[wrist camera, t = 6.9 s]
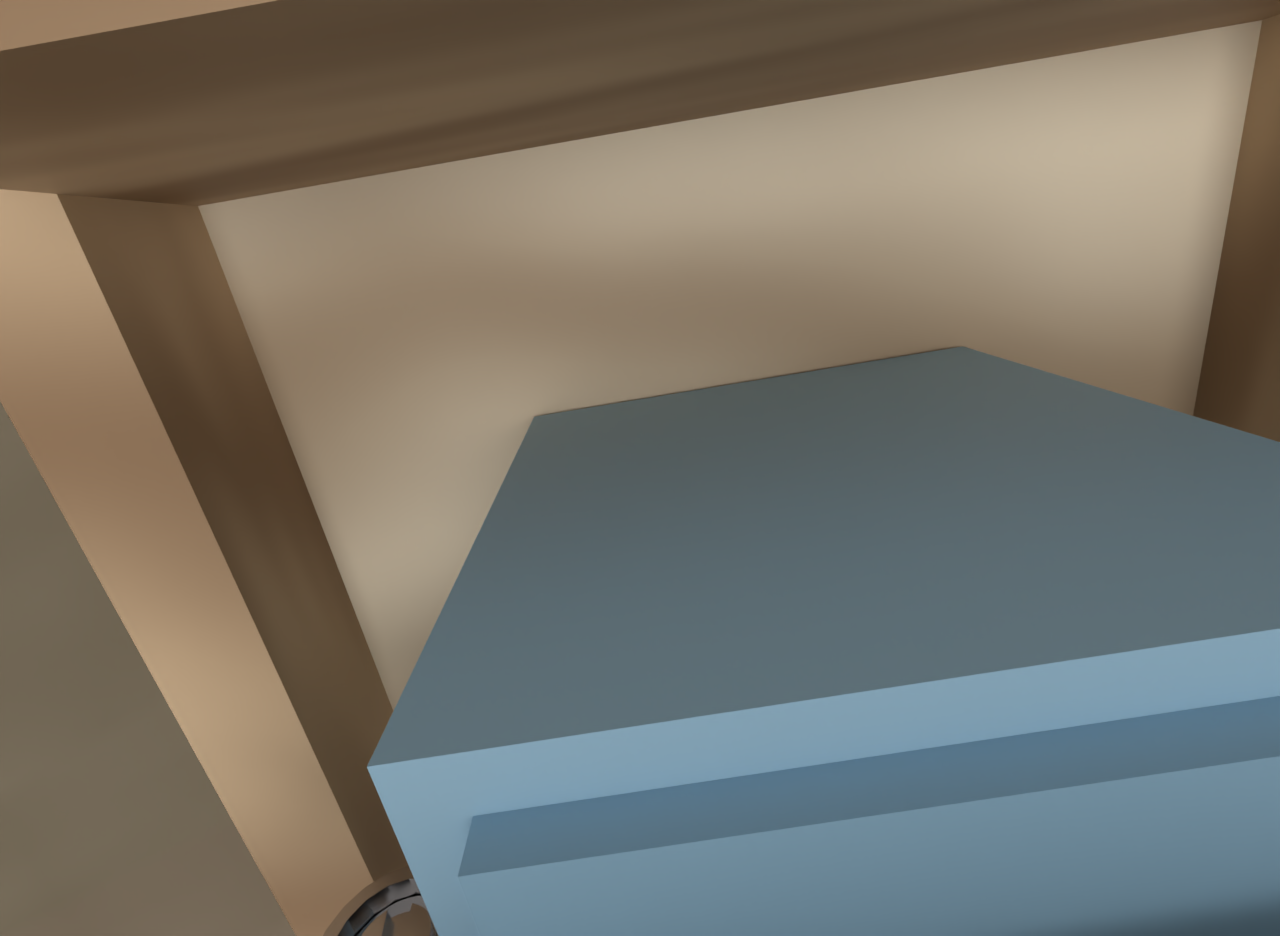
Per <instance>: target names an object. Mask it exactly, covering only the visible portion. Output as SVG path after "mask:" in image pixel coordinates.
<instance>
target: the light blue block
mask: <svg viewBox="0 0 1280 936" xmlns="http://www.w3.org/2000/svg"><path fill="white" fill-rule="evenodd" d="M367 769H368V771H369V773H370V776H371V778H372V780H373V783H374V785H375V787H376V790H377V792H378V794H379V797H380V799H381V802H382V804H383V806H384V809H385V811H386V813H387V816H388V818H389V820H390V823H391V825H392V827H393V830H394V832H395V835H396V837H397V839H398V842H399V844H400V846H401V849H402V851H403V853H404V856H405V858H406V860H407V863H408V865H409V867H410V870H411V872H412V875H413V877H414V879H415V882H416V884H417V886H418V889H419V891H420V893H421V896H422V898H423V900H424V903H425V905H426V908H427V910H428V912H429V915H430V917H431V919H432V922H433V924H434V926H435V929H436V931H437V933H438V936H1280V442H1277V441H1274V440H1271V439H1268V438H1264V437H1261V436H1258V435H1254V434H1251V433H1248V432H1244V431H1241V430H1238V429H1234V428H1231V427H1228V426H1225V425H1221V424H1218V423H1215V422H1211V421H1208V420H1205V419H1201V418H1198V417H1195V416H1191V415H1188V414H1185V413H1182V412H1178V411H1175V410H1172V409H1168V408H1165V407H1162V406H1158V405H1155V404H1152V403H1148V402H1145V401H1142V400H1139V399H1135V398H1132V397H1129V396H1125V395H1122V394H1119V393H1115V392H1112V391H1109V390H1105V389H1102V388H1099V387H1096V386H1092V385H1089V384H1086V383H1082V382H1079V381H1076V380H1072V379H1069V378H1066V377H1062V376H1059V375H1056V374H1053V373H1049V372H1046V371H1043V370H1039V369H1036V368H1033V367H1029V366H1026V365H1023V364H1019V363H1016V362H1013V361H1010V360H1006V359H1003V358H1000V357H996V356H993V355H990V354H986V353H983V352H980V351H976V350H973V349H970V348H967V347H963V346H962V347H956V348H950V349H943V350H937V351H931V352H925V353H919V354H913V355H907V356H901V357H895V358H889V359H883V360H876V361H870V362H864V363H858V364H852V365H846V366H840V367H834V368H828V369H822V370H816V371H810V372H803V373H797V374H791V375H785V376H779V377H773V378H767V379H761V380H755V381H749V382H743V383H736V384H730V385H724V386H718V387H712V388H706V389H700V390H694V391H688V392H682V393H676V394H669V395H663V396H657V397H651V398H645V399H639V400H633V401H627V402H621V403H615V404H609V405H602V406H596V407H590V408H584V409H578V410H572V411H566V412H560V413H554V414H548V415H542V416H536V417H534V418H533V420H532V422H531V424H530V426H529V428H528V430H527V433H526V435H525V437H524V439H523V441H522V443H521V445H520V447H519V449H518V451H517V454H516V456H515V458H514V460H513V462H512V464H511V466H510V468H509V470H508V472H507V474H506V477H505V479H504V481H503V483H502V485H501V487H500V489H499V491H498V493H497V495H496V497H495V500H494V502H493V504H492V506H491V508H490V510H489V512H488V514H487V516H486V518H485V520H484V523H483V525H482V527H481V529H480V531H479V533H478V535H477V537H476V539H475V541H474V544H473V546H472V548H471V550H470V552H469V554H468V556H467V558H466V560H465V562H464V564H463V567H462V569H461V571H460V573H459V575H458V577H457V579H456V581H455V583H454V585H453V587H452V590H451V592H450V594H449V596H448V598H447V600H446V602H445V604H444V606H443V608H442V610H441V613H440V615H439V617H438V619H437V621H436V623H435V625H434V627H433V629H432V631H431V634H430V636H429V638H428V640H427V642H426V644H425V646H424V648H423V650H422V652H421V654H420V657H419V659H418V661H417V663H416V665H415V667H414V669H413V671H412V673H411V675H410V677H409V680H408V682H407V684H406V686H405V688H404V690H403V692H402V694H401V696H400V698H399V701H398V703H397V705H396V707H395V709H394V711H393V713H392V715H391V717H390V719H389V721H388V724H387V726H386V728H385V730H384V732H383V734H382V736H381V738H380V740H379V742H378V744H377V747H376V749H375V751H374V753H373V755H372V757H371V759H370V761H369V763H368V765H367Z"/></svg>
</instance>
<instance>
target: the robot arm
mask: <svg viewBox="0 0 1280 936" xmlns="http://www.w3.org/2000/svg"><path fill="white" fill-rule="evenodd" d="M323 936H438V933H437V931H436V929H435V926H434V924H433V922H432V919H431V917H430V915H429V912H428V910H427V908H426V905H425V903H424V900H423V898H422V896H421V893H420V891H419V889H418V886H417V884H416V882H415V879H414V877H413V875H412V872H411V870H410V867H409V866H406V867H404V868H401V869H398V870H395V871H392V872H390V873H387V874H385V875H384V876H382V877H381V878H379V879H377V880H376V881H374V882H373V883H371V884H369V885H368V886H366V887H365V888H364V889H362V890H361V891H360V892H359V893H358V894H357V895H356V896H355V897H354V898H353V899H352V900H350V901H349V902H348V903H347V904H346V905H345V906H344V907H343V908H342V910H341V911H340V912H339V914H338V915H337V916H336V917H335V919H334V920H333V921H332V923H331V924H330V925H329V927H328V928H327V929H326V931H325V933H324V935H323Z"/></svg>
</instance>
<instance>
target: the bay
mask: <svg viewBox="0 0 1280 936" xmlns="http://www.w3.org/2000/svg"><path fill="white" fill-rule="evenodd" d="M962 346H963V347H967V348H970V349H973V350H976V351H980V352H983V353H986V354H990V355H993V356H996V357H1000V358H1003V359H1006V360H1010V361H1013V362H1016V363H1019V364H1023V365H1026V366H1029V367H1033V368H1036V369H1039V370H1043V371H1046V372H1049V373H1053V374H1056V375H1059V376H1062V377H1066V378H1069V379H1072V380H1076V381H1079V382H1082V383H1086V384H1089V385H1092V386H1096V387H1099V388H1102V389H1105V390H1109V391H1112V392H1115V393H1119V394H1122V395H1125V396H1129V397H1132V398H1135V399H1139V400H1142V401H1145V402H1148V403H1152V404H1155V405H1158V406H1162V407H1165V408H1168V409H1172V410H1175V411H1178V412H1182V413H1185V414H1188V415H1191V416H1195V417H1198V418H1201V419H1205V420H1208V421H1211V422H1215V423H1218V424H1221V425H1225V426H1228V427H1231V428H1234V429H1238V430H1241V431H1244V432H1248V433H1251V434H1254V435H1258V436H1261V437H1264V438H1268V439H1271V440H1274V441H1277V442H1280V0H0V401H1V403H2V405H3V407H4V408H5V410H6V412H7V414H8V416H9V418H10V419H11V421H12V423H13V425H14V427H15V428H16V430H17V432H18V434H19V436H20V437H21V439H22V441H23V443H24V445H25V446H26V448H27V450H28V452H29V454H30V455H31V457H32V459H33V461H34V463H35V465H36V466H37V468H38V470H39V472H40V474H41V475H42V477H43V479H44V481H45V483H46V484H47V486H48V488H49V490H50V492H51V493H52V495H53V497H54V499H55V501H56V502H57V504H58V506H59V508H60V510H61V512H62V513H63V515H64V517H65V519H66V521H67V522H68V524H69V526H70V528H71V530H72V531H73V533H74V535H75V537H76V539H77V540H78V542H79V544H80V546H81V548H82V549H83V551H84V553H85V555H86V557H87V559H88V560H89V562H90V564H91V566H92V568H93V569H94V571H95V573H96V575H97V577H98V578H99V580H100V582H101V584H102V586H103V587H104V589H105V591H106V593H107V595H108V596H109V598H110V600H111V602H112V604H113V606H114V607H115V609H116V611H117V613H118V615H119V616H120V618H121V620H122V622H123V624H124V625H125V627H126V629H127V631H128V633H129V634H130V636H131V638H132V640H133V642H134V643H135V645H136V647H137V649H138V651H139V653H140V654H141V656H142V658H143V660H144V662H145V663H146V665H147V667H148V669H149V671H150V672H151V674H152V676H153V678H154V680H155V681H156V683H157V685H158V687H159V689H160V690H161V692H162V694H163V696H164V698H165V700H166V701H167V703H168V705H169V707H170V709H171V710H172V712H173V714H174V716H175V718H176V719H177V721H178V723H179V725H180V727H181V728H182V730H183V732H184V734H185V736H186V737H187V739H188V741H189V743H190V745H191V746H192V748H193V750H194V752H195V754H196V756H197V757H198V759H199V761H200V763H201V765H202V766H203V768H204V770H205V772H206V774H207V775H208V777H209V779H210V781H211V783H212V784H213V786H214V788H215V790H216V792H217V793H218V795H219V797H220V799H221V801H222V803H223V804H224V806H225V808H226V810H227V812H228V813H229V815H230V817H231V819H232V821H233V822H234V824H235V826H236V828H237V830H238V831H239V833H240V835H241V837H242V839H243V840H244V842H245V844H246V846H247V848H248V850H249V851H250V853H251V855H252V857H253V859H254V860H255V862H256V864H257V866H258V868H259V869H260V871H261V873H262V875H263V877H264V878H265V880H266V882H267V884H268V886H269V887H270V889H271V891H272V893H273V895H274V897H275V898H276V900H277V902H278V904H279V906H280V907H281V909H282V911H283V913H284V915H285V916H286V918H287V920H288V922H289V924H290V925H291V927H292V929H293V931H294V933H295V934H296V936H323V935H324V933H325V931H326V929H327V928H328V927H329V925H330V924H331V923H332V921H333V920H334V919H335V917H336V916H337V915H338V914H339V912H340V911H341V910H342V908H343V907H344V906H345V905H346V904H347V903H348V902H349V901H350V900H352V899H353V898H354V897H355V896H356V895H357V894H358V893H359V892H360V891H361V890H362V889H364V888H365V887H366V886H368V885H369V884H371V883H373V882H374V881H376V880H377V879H379V878H381V877H382V876H384V875H385V874H387V873H390V872H392V871H395V870H398V869H401V868H404V867H406V866H409V865H408V863H407V860H406V858H405V856H404V853H403V851H402V849H401V846H400V844H399V842H398V839H397V837H396V835H395V832H394V830H393V827H392V825H391V823H390V820H389V818H388V816H387V813H386V811H385V809H384V806H383V804H382V802H381V799H380V797H379V794H378V792H377V790H376V787H375V785H374V783H373V780H372V778H371V776H370V773H369V771H368V769H367V765H368V763H369V761H370V759H371V757H372V755H373V753H374V751H375V749H376V747H377V744H378V742H379V740H380V738H381V736H382V734H383V732H384V730H385V728H386V726H387V724H388V721H389V719H390V717H391V715H392V713H393V711H394V709H395V707H396V705H397V703H398V701H399V698H400V696H401V694H402V692H403V690H404V688H405V686H406V684H407V682H408V680H409V677H410V675H411V673H412V671H413V669H414V667H415V665H416V663H417V661H418V659H419V657H420V654H421V652H422V650H423V648H424V646H425V644H426V642H427V640H428V638H429V636H430V634H431V631H432V629H433V627H434V625H435V623H436V621H437V619H438V617H439V615H440V613H441V610H442V608H443V606H444V604H445V602H446V600H447V598H448V596H449V594H450V592H451V590H452V587H453V585H454V583H455V581H456V579H457V577H458V575H459V573H460V571H461V569H462V567H463V564H464V562H465V560H466V558H467V556H468V554H469V552H470V550H471V548H472V546H473V544H474V541H475V539H476V537H477V535H478V533H479V531H480V529H481V527H482V525H483V523H484V520H485V518H486V516H487V514H488V512H489V510H490V508H491V506H492V504H493V502H494V500H495V497H496V495H497V493H498V491H499V489H500V487H501V485H502V483H503V481H504V479H505V477H506V474H507V472H508V470H509V468H510V466H511V464H512V462H513V460H514V458H515V456H516V454H517V451H518V449H519V447H520V445H521V443H522V441H523V439H524V437H525V435H526V433H527V430H528V428H529V426H530V424H531V422H532V420H533V418H534V417H536V416H542V415H548V414H554V413H560V412H566V411H572V410H578V409H584V408H590V407H596V406H602V405H609V404H615V403H621V402H627V401H633V400H639V399H645V398H651V397H657V396H663V395H669V394H676V393H682V392H688V391H694V390H700V389H706V388H712V387H718V386H724V385H730V384H736V383H743V382H749V381H755V380H761V379H767V378H773V377H779V376H785V375H791V374H797V373H803V372H810V371H816V370H822V369H828V368H834V367H840V366H846V365H852V364H858V363H864V362H870V361H876V360H883V359H889V358H895V357H901V356H907V355H913V354H919V353H925V352H931V351H937V350H943V349H950V348H956V347H962Z"/></svg>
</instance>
